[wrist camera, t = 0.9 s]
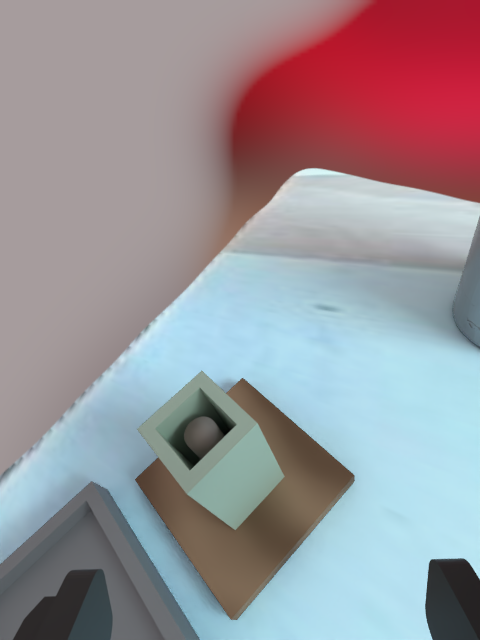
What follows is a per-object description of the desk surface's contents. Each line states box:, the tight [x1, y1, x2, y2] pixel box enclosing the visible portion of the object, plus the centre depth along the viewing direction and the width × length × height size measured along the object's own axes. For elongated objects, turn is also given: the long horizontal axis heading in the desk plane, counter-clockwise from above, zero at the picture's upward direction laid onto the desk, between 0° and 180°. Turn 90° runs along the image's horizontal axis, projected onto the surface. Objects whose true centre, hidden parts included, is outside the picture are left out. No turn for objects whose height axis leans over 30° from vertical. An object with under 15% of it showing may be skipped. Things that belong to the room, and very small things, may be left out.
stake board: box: [135, 378, 355, 620], centre depth 26 cm, size 12×12×10 cm
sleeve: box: [137, 371, 285, 530], centre depth 25 cm, size 5×5×10 cm
